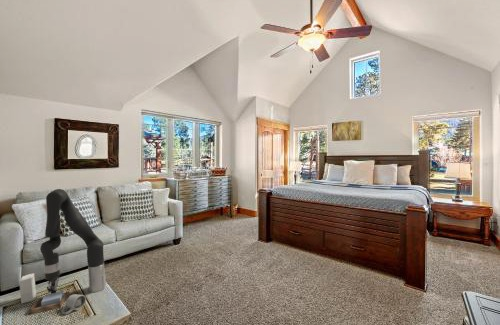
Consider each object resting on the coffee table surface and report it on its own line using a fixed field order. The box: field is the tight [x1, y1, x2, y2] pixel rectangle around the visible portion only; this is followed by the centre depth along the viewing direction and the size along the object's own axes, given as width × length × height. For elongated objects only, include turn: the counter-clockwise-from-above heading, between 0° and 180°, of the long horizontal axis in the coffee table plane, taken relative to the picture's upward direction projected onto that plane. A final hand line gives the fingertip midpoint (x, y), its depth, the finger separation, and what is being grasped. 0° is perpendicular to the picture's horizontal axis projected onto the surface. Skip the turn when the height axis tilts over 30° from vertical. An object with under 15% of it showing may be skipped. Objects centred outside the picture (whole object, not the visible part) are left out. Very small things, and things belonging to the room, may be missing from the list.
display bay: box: [28, 291, 69, 315], centre depth 144 cm, size 15×13×2 cm
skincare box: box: [18, 272, 37, 304], centre depth 150 cm, size 8×6×15 cm
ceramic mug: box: [61, 293, 87, 315], centre depth 139 cm, size 11×8×8 cm
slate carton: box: [40, 290, 65, 307], centre depth 145 cm, size 9×8×5 cm
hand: (53, 295), depth 151 cm, fingers closed
